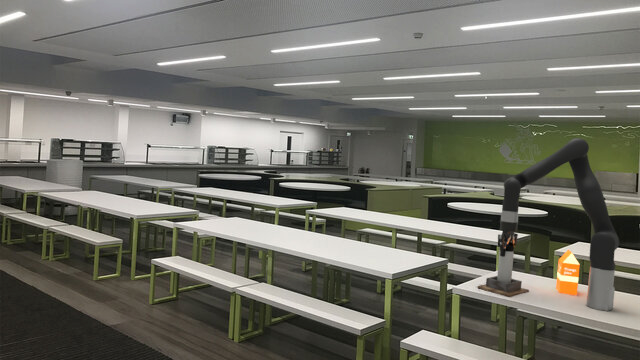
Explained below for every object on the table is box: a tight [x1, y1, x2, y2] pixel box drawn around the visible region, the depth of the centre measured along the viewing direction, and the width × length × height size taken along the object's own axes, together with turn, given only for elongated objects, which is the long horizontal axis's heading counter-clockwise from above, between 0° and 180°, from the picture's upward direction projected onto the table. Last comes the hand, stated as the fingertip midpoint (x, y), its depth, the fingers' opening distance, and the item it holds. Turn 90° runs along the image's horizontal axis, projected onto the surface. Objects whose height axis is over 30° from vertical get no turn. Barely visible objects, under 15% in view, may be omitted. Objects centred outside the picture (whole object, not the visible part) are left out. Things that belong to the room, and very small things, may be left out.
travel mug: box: [496, 243, 515, 283], centre depth 221 cm, size 6×7×20 cm
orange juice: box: [555, 249, 581, 296], centre depth 226 cm, size 8×9×20 cm
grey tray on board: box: [477, 275, 530, 298], centre depth 221 cm, size 16×18×5 cm
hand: (506, 255), depth 221 cm, fingers closed on travel mug, 6 cm apart
